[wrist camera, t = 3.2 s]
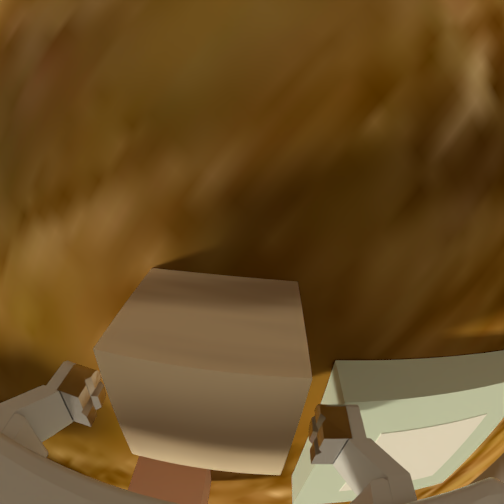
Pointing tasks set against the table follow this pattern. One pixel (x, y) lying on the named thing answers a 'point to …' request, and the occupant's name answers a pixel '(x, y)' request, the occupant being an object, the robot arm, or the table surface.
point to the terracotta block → (171, 481)
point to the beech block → (208, 370)
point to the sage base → (411, 417)
